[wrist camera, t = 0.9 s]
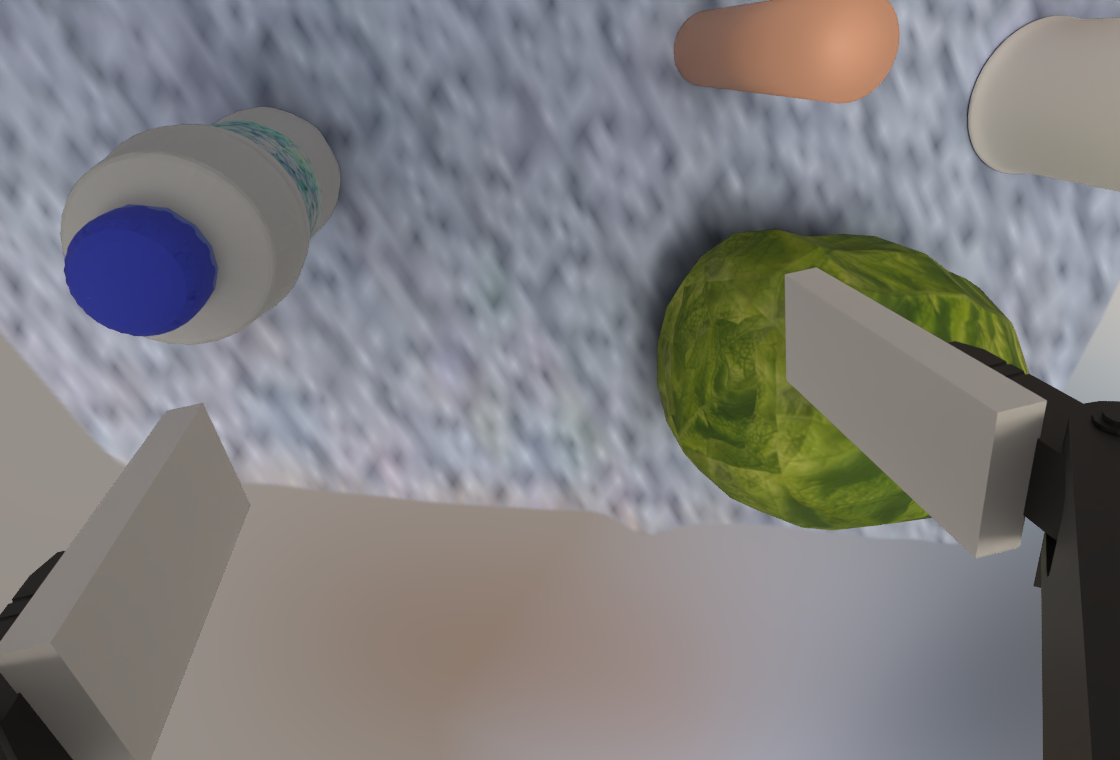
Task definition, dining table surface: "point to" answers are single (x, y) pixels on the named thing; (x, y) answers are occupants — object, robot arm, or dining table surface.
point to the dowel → (791, 48)
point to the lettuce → (760, 371)
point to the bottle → (198, 224)
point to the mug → (1052, 102)
